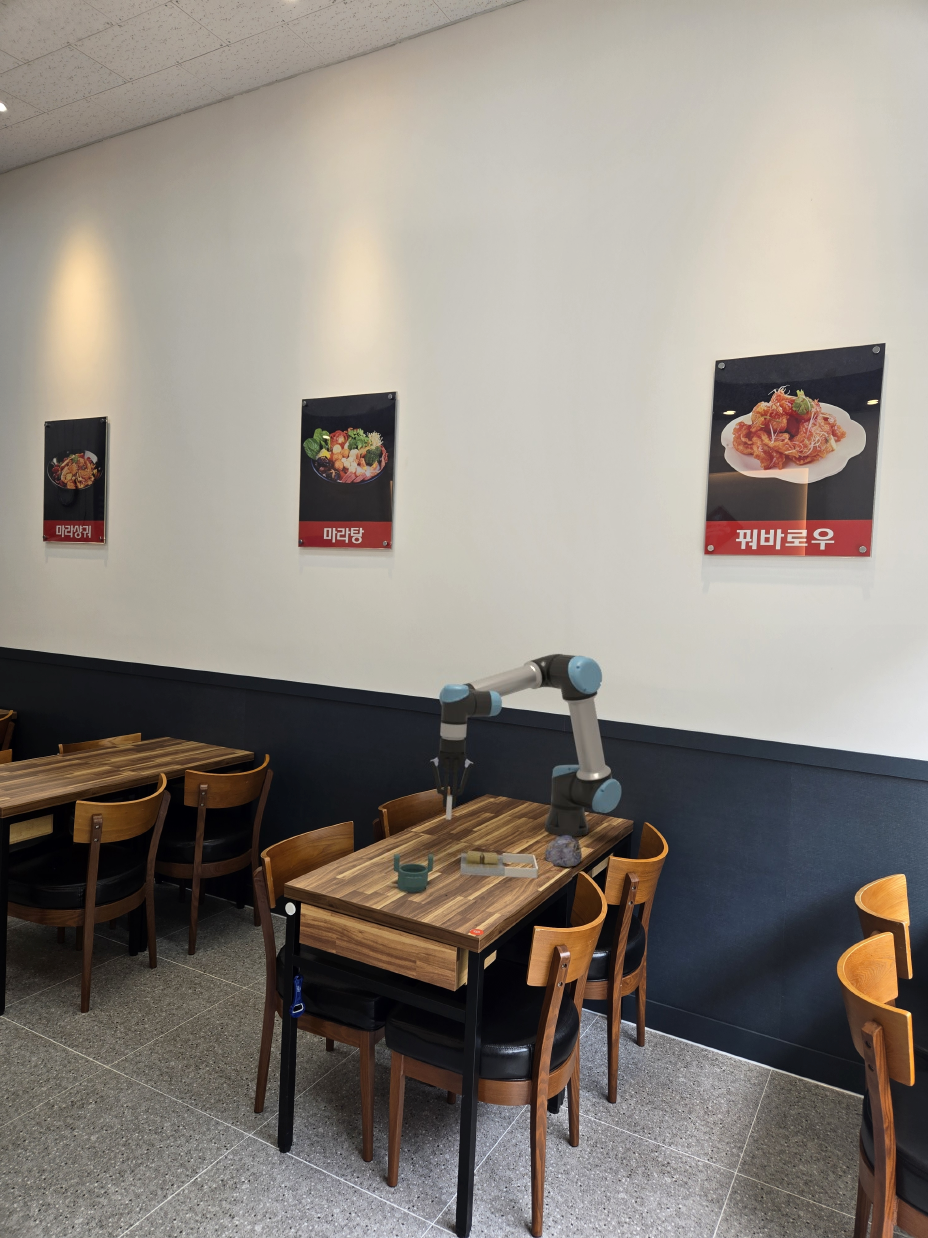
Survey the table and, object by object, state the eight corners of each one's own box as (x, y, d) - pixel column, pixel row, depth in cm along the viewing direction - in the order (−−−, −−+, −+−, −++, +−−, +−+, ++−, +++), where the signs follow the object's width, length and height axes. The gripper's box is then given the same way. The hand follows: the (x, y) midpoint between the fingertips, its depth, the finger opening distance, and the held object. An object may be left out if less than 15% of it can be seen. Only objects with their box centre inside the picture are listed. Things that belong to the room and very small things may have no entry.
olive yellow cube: (481, 865, 230) (482, 852, 230) (479, 870, 226) (479, 856, 226) (468, 864, 231) (468, 850, 231) (465, 868, 227) (466, 854, 227)
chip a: (495, 866, 230) (495, 852, 230) (497, 870, 226) (498, 857, 226) (481, 866, 230) (482, 852, 229) (484, 870, 226) (484, 857, 226)
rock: (585, 852, 243) (576, 827, 239) (579, 876, 235) (570, 851, 231) (553, 853, 248) (544, 828, 244) (545, 877, 239) (536, 852, 235)
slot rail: (502, 865, 235) (502, 855, 235) (504, 880, 222) (504, 869, 222) (460, 863, 235) (461, 853, 235) (460, 877, 222) (460, 867, 222)
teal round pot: (389, 886, 212) (391, 854, 212) (414, 879, 219) (415, 847, 219) (412, 896, 206) (413, 862, 206) (436, 888, 213) (438, 855, 212)
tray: (533, 866, 235) (534, 855, 235) (537, 881, 222) (538, 869, 222) (502, 865, 235) (502, 853, 235) (504, 880, 222) (504, 867, 222)
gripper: (475, 737, 231) (470, 816, 232) (431, 734, 231) (426, 813, 232) (475, 741, 224) (470, 823, 224) (430, 738, 224) (425, 820, 224)
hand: (448, 818), depth 228 cm, fingers closed
